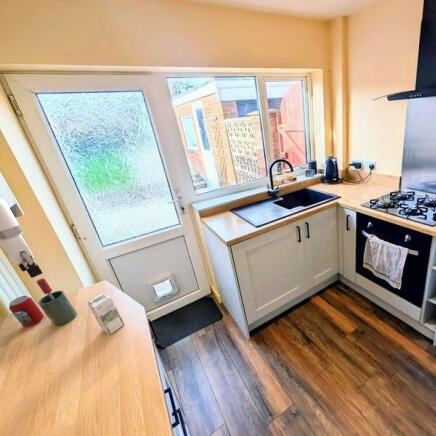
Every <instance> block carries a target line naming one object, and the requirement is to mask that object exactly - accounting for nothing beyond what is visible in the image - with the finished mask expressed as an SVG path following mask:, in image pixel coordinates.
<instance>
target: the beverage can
mask: <svg viewBox="0 0 436 436" xmlns="http://www.w3.org/2000/svg"><path fill="white" fill-rule="evenodd" d="M8 309H9V311H10V312H11V314H12V315H13V316H14V317H15V318H16V320H17V321H18V322H19V323H20V324H21V326H22V327H24V328H28V327H32V326H35V325H36V324H38V323H40V322H41V321H42V319H43V318H44V316H45V315H44V313H43V312H42V310H41V309H40V307H39V306H38V305H37V304H36V302H35V301H34V299H33V298H32V297H29V296H28V295H22V296H19V297H16V298H15V299H13V300H11V301H10V302H9V306H8Z"/></svg>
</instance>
